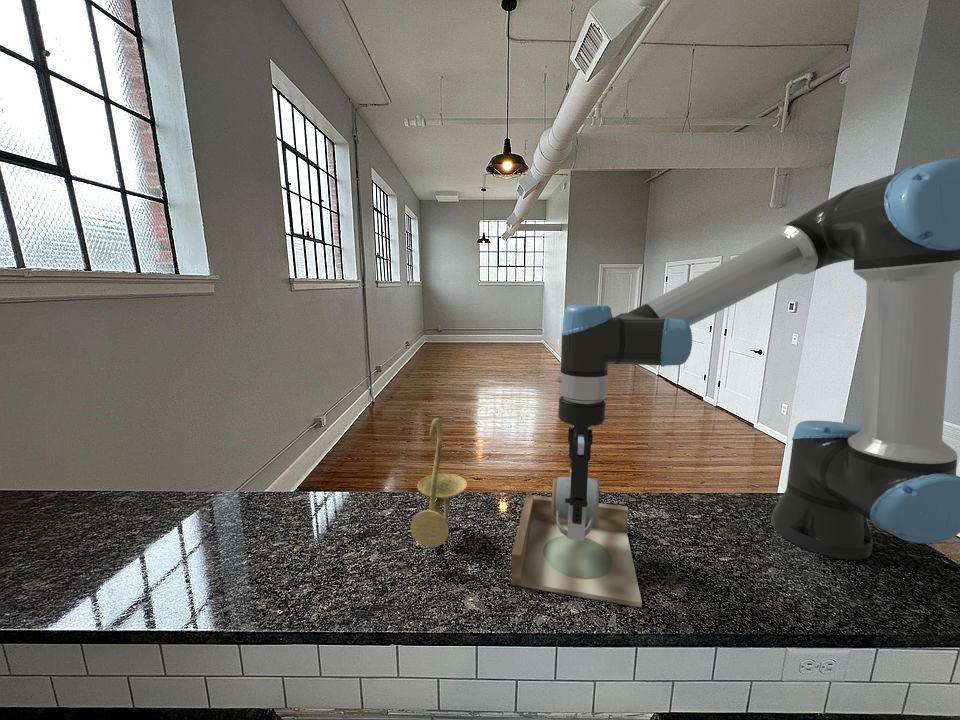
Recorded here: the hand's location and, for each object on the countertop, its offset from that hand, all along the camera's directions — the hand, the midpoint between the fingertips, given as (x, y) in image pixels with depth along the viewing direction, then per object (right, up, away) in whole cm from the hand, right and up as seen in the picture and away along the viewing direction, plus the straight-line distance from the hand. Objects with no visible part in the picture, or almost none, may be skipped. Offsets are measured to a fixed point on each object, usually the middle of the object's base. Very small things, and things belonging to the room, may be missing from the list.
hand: (575, 519), depth 70 cm
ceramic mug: (0, -1, 0) cm, 1 cm away
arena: (0, -7, +2) cm, 8 cm away
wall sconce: (-25, -7, +6) cm, 26 cm away
